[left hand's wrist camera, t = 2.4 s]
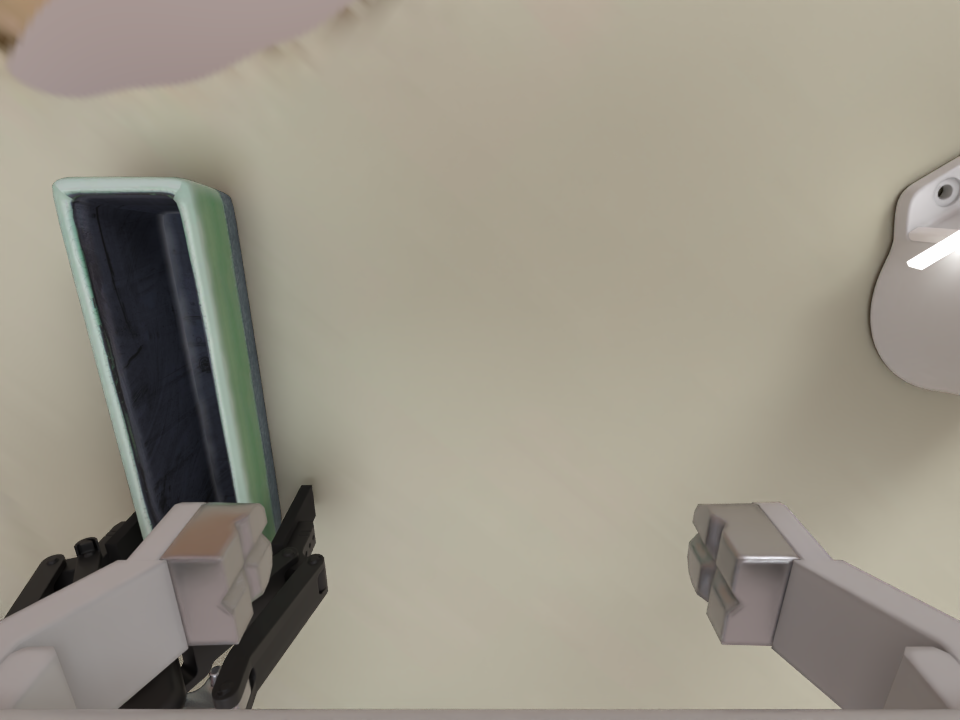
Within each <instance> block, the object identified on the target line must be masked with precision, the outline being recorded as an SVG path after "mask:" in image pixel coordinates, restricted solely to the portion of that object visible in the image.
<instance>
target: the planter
mask: <svg viewBox="0 0 960 720" xmlns="http://www.w3.org/2000/svg"><path fill="white" fill-rule="evenodd" d="M52 188H53V198H54V202H55V206H56V211H57V215H58V219H59V224H60V228H61V231H62V235H63V239H64V243H65V247H66V251H67V255H68V259H69V262H70V266H71V270H72V274H73V278H74V281H75V285H76V289H77V293H78V297H79V300H80V304H81V308H82V312H83V316H84V319H85V323H86V327H87V331H88V335H89V338H90V342H91V346H92V350H93V353H94V357H95V361H96V365H97V369H98V372H99V376H100V380H101V384H102V387H103V391H104V395H105V399H106V402H107V406H108V410H109V414H110V417H111V421H112V425H113V429H114V432H115V436H116V440H117V444H118V447H119V451H120V455H121V459H122V462H123V466H124V470H125V474H126V477H127V481H128V485H129V488H130V492H131V496H132V500H133V503H134V507H135V511H136V514H137V518H138V522H139V526H140V529H141V533H142V537H143V540H144V539H145V538H146V537H147V536H148V535H149V534H150V532H151V531H152V530H153V529H154V528H155V527H156V525H157V524H158V523H159V522H160V521H161V520H162V519H163V517H164V516H165V515H166V514H167V513H168V512H169V511H170V509H171V508H172V507H173V506H174V505H175V504H178V503H181V502H205V503H208V502H219V503H260V504H261V505H262V506H263V507H264V508H265V513H266V518H267V524H266V526H265V528H264V529H263V531H262V534H263V535H264V536H265V537H266V538H267V539H268V540H269V541H270V542H272V540H273V538H274V537H275V535H276V533H277V531H278V529H279V527H280V525H281V512H280V504H279V497H278V490H277V483H276V477H275V470H274V463H273V457H272V450H271V444H270V437H269V431H268V424H267V417H266V411H265V404H264V398H263V391H262V385H261V378H260V372H259V365H258V359H257V352H256V346H255V339H254V333H253V326H252V320H251V314H250V307H249V301H248V294H247V288H246V281H245V275H244V269H243V262H242V256H241V250H240V243H239V237H238V231H237V225H236V219H235V214H234V208H233V204H232V201H231V198H230V197H229V196H228V195H226V194H225V193H223V192H221V191H218V190H216V189H213V188H211V187H208V186H205V185H203V184H200V183H197V182H194V181H191V180H187V179H183V178H175V177H67V178H62V179H59V180H57V181H56V182H54V184H53V185H52Z"/></svg>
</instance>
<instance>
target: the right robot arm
mask: <svg viewBox="0 0 960 720" xmlns="http://www.w3.org/2000/svg"><path fill="white" fill-rule="evenodd" d="M315 516H316V515H315V507H314V499H313V491H312V485H301V487H300V489H299V491H298V493H297V495H296V497H295V499H294V501H293V502H292V504H291V506H290V508H289V510H288V512H287V514H286V516H285V518H284V519H283V521H282V523H281V525H280V527H279V529H278V531H277V533H276V535H275V537H274V538H273V540H272V542H271V547H272V569H271V574H270V578H269V582H268V584H267V587H266V589H265V591H264V593H263V595H261V596H260V597H258V598H257V599H256V600H254V601H253V602H252V608H253V613H254V614H253V616H252V618H251V620H250V622H249V624H248V626H247V628H246V630H245V632H244V634H243V636H242V638H241V640H240V642H239V644H235V645H234V646H233V648H232V649H231V650H230V652H229V653H228V655H227V657H226V658H225V660H224V662H223V665H222V667H221V666H215V667H214V668H212V669H211V667H212V664H213V662H214V661H215V660H216V659H217V658H218V657H219V656H221V655H222V654H223V653H224V652H225V651H226V650H227V649H229V648H230V647H231V646H232V645H199V646H188V649H187V650H186V651H185V652H184V653H183V654H182V656H183V664H182V666H181V667H180V663H179V659H178V658H177V659H176V660H174V661H173V662H172V663H171V664H170V665H169V666H167V667H166V668H165V669H164V670H163V671H162V672H160V673H159V674H158V675H157V676H156V677H155V678H153V679H152V680H151V681H150V682H149V683H148V684H146V685H145V686H144V687H143V688H142V689H141V690H139V691H138V692H137V693H136V694H135V695H133V696H132V697H131V698H130V699H129V700H128V701H126V702H125V703H124V704H123V705H122V706H121V707H119V708H118V709H252V706H253V703H254V700H255V696H256V693H257V691H258V690H259V688H260V687H261V685H262V684H263V683H264V681H265V680H266V678H267V677H268V676H269V674H270V673H271V671H272V670H273V668H274V667H275V666H276V664H277V663H278V661H279V660H280V659H281V657H282V656H283V654H284V653H285V652H286V650H287V649H288V647H289V646H290V645H291V643H292V642H293V640H294V639H295V638H296V636H297V635H298V633H299V632H300V630H301V629H302V628H303V626H304V625H305V623H306V622H307V621H308V619H309V618H310V616H311V615H312V614H313V612H314V611H315V609H316V608H317V607H318V605H319V604H320V602H321V601H322V600H323V598H324V597H325V595H326V594H327V592H328V586H327V577H326V569H325V562H324V557H323V556H322V555H320V554H313V555H311V552H312V551H313V548H314V546H315V543H316V541H315V533H314V525H313V520H314V518H315ZM142 542H143V537H142V533H141V529H140V526H139V522H138V518H137V514H136V511H135V512H134V513H133V514H132V516H131V517H130V518H129V519H128V520H127V521H126V522H120V523H119V524H117V525H115V526H114V527H113V528H112V529H111V530H110V531H109V532H108V533H107V534H106V536H104V537H103V538H102V539H101V540H100V542H99V543H98V540H97V538H95V537H90V538H85V539H83V540H81V541H79V542H78V543H76V544H75V546H74V548H75V551H76V554H77V557H76V558H71V559H66V560H65V557H64V555H61V554H57V555H52V556H50V557H48V558H46V559H45V560H43V561H42V562H41V564H40V565H39V567H38V568H37V570H36V571H35V573H34V574H33V576H32V577H31V579H30V580H29V582H28V583H27V585H26V586H25V588H24V589H23V591H22V592H21V594H20V595H19V597H18V598H17V600H16V601H15V603H14V604H13V606H12V607H11V609H10V610H9V612H8V613H7V615H6V616H5V618H6V617H8V616H10V615H12V614H14V613H16V612H18V611H20V610H22V609H24V608H26V607H28V606H30V605H32V604H34V603H35V602H37V601H39V600H41V599H43V598H45V597H47V596H49V595H51V594H53V593H55V592H57V591H59V590H61V589H63V588H65V587H66V586H68V585H70V584H72V583H74V582H76V581H78V580H80V579H82V578H84V577H86V576H88V575H90V574H92V573H94V572H96V571H97V570H99V569H101V568H103V567H105V566H107V565H109V564H111V563H113V562H115V561H117V560H127V559H128V558H129V557H130V555H131V554H132V553H133V552H134V551H135V550H136V548H137V547H138V546H139V545H140V544H141V543H142ZM208 673H209V676H210V677H209V678H208V680H207V681H206V682H205V684H204V685H203V686H202V687H201V688H199V689H198V690H196V691H193V692H189V691H190V690H191V689H192V688H193V687H194V686H195V685H197V684H198V683H199V682H200V681H201V680H202V679H203V678H205V677H206V676H207V675H208ZM187 692H189V693H187Z"/></svg>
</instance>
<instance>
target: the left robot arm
mask: <svg viewBox="0 0 960 720" xmlns="http://www.w3.org/2000/svg"><path fill="white" fill-rule="evenodd" d="M942 186H943V192H942V194H941V195H940V196H939V197H938V191H939V189H940V188H941V187H942ZM870 324H871V332H872V337H873V341H874V344H875V347H876V349H877V351H878V354H879V355H880V357H881V359H882V360H883V362H884V363H885V364H886V366H887V367H888V368H889V369H890V370H891V371H892V372H893V373H894V374H896V375H897V376H898V377H899V378H901V379H903V380H904V381H906V382H908V383H910V384H912V385H914V386H917V387H920V388H923V389H927V390H932V391H939V392H946V393H951V394H956V395H960V156H958V157H957V158H955V159H953V160H951V161H950V162H948V163H946V164H945V165H943V166H941V167H940V168H938V169H936V170H935V171H933V172H931V173H929V174H928V175H926V176H924V177H923V178H921V179H919V180H918V181H916V182H914V183H913V184H911V185H910V186H908V187H907V188H906V189H905V190H904V191H903V193H902V194H901V196H900V198H899V200H898V203H897V206H896V212H895V221H894V240H893V244H892V247H891V250H890V252H889V255H888V257H887V259H886V261H885V263H884V265H883V268H882V270H881V272H880V274H879V277H878V279H877V282H876V285H875V288H874V292H873V296H872V302H871V311H870ZM266 524H267V518H266V513H265V508H264V507H263V506H262V505H261V504H260V503H219V502H208V503H205V502H181V503H178V504H175V505H174V506H173V507H172V508H171V509H170V511H169V512H168V513H167V514H166V515H165V516H164V517H163V519H162V520H161V521H160V522H159V523H158V524H157V525H156V527H155V528H154V529H153V530H152V531H151V532H150V534H149V535H148V536H147V537H146V538H145V539H144V540H143V542H142V543H141V544H140V545H139V546H138V547H137V548H136V550H135V551H134V552H133V553H132V554H131V555H130V557H129V558H128V559H127V560H117V561H115V562H113V563H111V564H109V565H107V566H105V567H103V568H101V569H99V570H97V571H96V572H94V573H92V574H90V575H88V576H86V577H84V578H82V579H80V580H78V581H76V582H74V583H72V584H70V585H68V586H66V587H65V588H63V589H61V590H59V591H57V592H55V593H53V594H51V595H49V596H47V597H45V598H43V599H41V600H39V601H37V602H35V603H34V604H32V605H30V606H28V607H26V608H24V609H22V610H20V611H18V612H16V613H14V614H12V615H10V616H8V617H6V618H4V619H3V620H1V621H0V720H960V621H959V620H957V619H955V618H953V617H951V616H949V615H948V614H946V613H944V612H942V611H940V610H938V609H936V608H934V607H932V606H930V605H928V604H926V603H924V602H922V601H920V600H919V599H917V598H915V597H913V596H911V595H909V594H907V593H905V592H903V591H901V590H899V589H897V588H895V587H893V586H891V585H890V584H888V583H886V582H884V581H882V580H880V579H878V578H876V577H874V576H872V575H870V574H868V573H866V572H864V571H862V570H861V569H859V568H857V567H855V566H853V565H851V564H849V563H847V562H845V561H843V560H833V559H832V558H831V557H830V555H829V554H828V553H827V552H826V551H825V550H824V548H823V547H822V546H821V545H820V544H819V543H818V542H817V540H816V539H815V538H814V537H813V536H812V535H811V534H810V532H809V531H808V530H807V529H806V528H805V527H804V526H803V524H802V523H801V522H800V521H799V520H798V519H797V517H796V516H795V515H794V514H793V513H792V512H791V511H790V509H789V508H788V507H787V506H786V505H785V504H782V503H780V502H758V503H742V504H698V505H697V507H696V509H695V512H694V517H693V524H694V526H695V528H696V529H697V531H698V534H697V535H696V536H695V537H694V538H693V539H692V540H691V541H690V542H689V548H688V556H687V558H688V570H689V575H690V578H691V582H692V585H693V587H694V589H695V591H696V593H697V595H699V596H700V597H702V598H703V599H704V600H706V601H707V602H708V608H707V613H706V614H707V616H708V618H709V620H710V622H711V624H712V626H713V628H714V630H715V632H716V634H717V636H718V638H719V640H720V642H721V644H726V645H761V646H772V649H773V650H774V651H775V652H777V653H778V654H779V655H780V656H781V657H782V658H784V659H785V660H786V661H787V662H788V663H789V664H791V665H792V666H793V667H794V668H795V669H796V670H798V671H799V672H800V673H801V674H802V675H803V676H805V677H806V678H807V679H808V680H809V681H810V682H812V683H813V684H814V685H815V686H816V687H817V688H819V689H820V690H821V691H822V692H823V693H824V694H825V695H827V696H828V697H829V698H830V699H831V700H832V701H834V702H835V703H836V704H837V705H838V706H839V707H841V708H842V709H118V708H119V707H121V706H122V705H123V704H124V703H125V702H126V701H128V700H129V699H130V698H131V697H132V696H133V695H135V694H136V693H137V692H138V691H139V690H141V689H142V688H143V687H144V686H145V685H146V684H148V683H149V682H150V681H151V680H152V679H153V678H155V677H156V676H157V675H158V674H159V673H160V672H162V671H163V670H164V669H165V668H166V667H167V666H169V665H170V664H171V663H172V662H173V661H174V660H176V659H177V658H178V657H179V656H180V655H181V654H183V653H184V652H185V651H186V650H187V649H188V646H199V645H233V644H239V642H240V640H241V638H242V636H243V634H244V632H245V630H246V628H247V626H248V624H249V622H250V620H251V618H252V616H253V614H254V613H253V608H252V602H253V601H254V600H256V599H257V598H258V597H260V596H261V595H263V593H264V591H265V589H266V587H267V584H268V582H269V578H270V574H271V569H272V547H271V542H270V541H269V540H268V539H267V538H266V537H265V536H264V535H263V534H262V531H263V529H264V528H265V526H266Z"/></svg>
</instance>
